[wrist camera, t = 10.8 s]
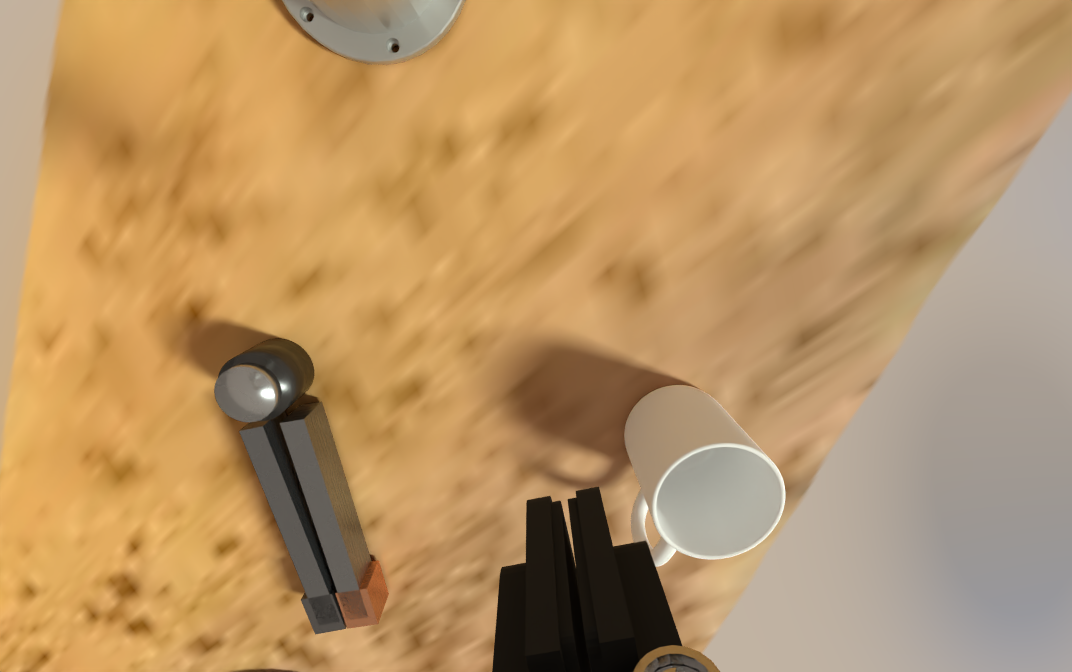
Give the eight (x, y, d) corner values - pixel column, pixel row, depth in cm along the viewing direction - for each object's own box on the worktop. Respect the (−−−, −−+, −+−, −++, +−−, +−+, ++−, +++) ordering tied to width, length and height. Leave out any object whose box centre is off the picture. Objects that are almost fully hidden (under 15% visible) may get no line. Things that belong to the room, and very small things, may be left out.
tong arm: (245, 350, 38) (205, 372, 33) (310, 339, 37) (279, 360, 33) (332, 602, 44) (309, 649, 39) (388, 594, 44) (372, 640, 39)
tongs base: (231, 347, 38) (198, 364, 34) (301, 332, 38) (275, 347, 34) (332, 600, 44) (313, 638, 41) (392, 589, 44) (379, 626, 40)
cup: (743, 409, 40) (812, 478, 30) (665, 523, 43) (705, 619, 33) (656, 364, 39) (698, 420, 29) (581, 484, 42) (597, 572, 32)
